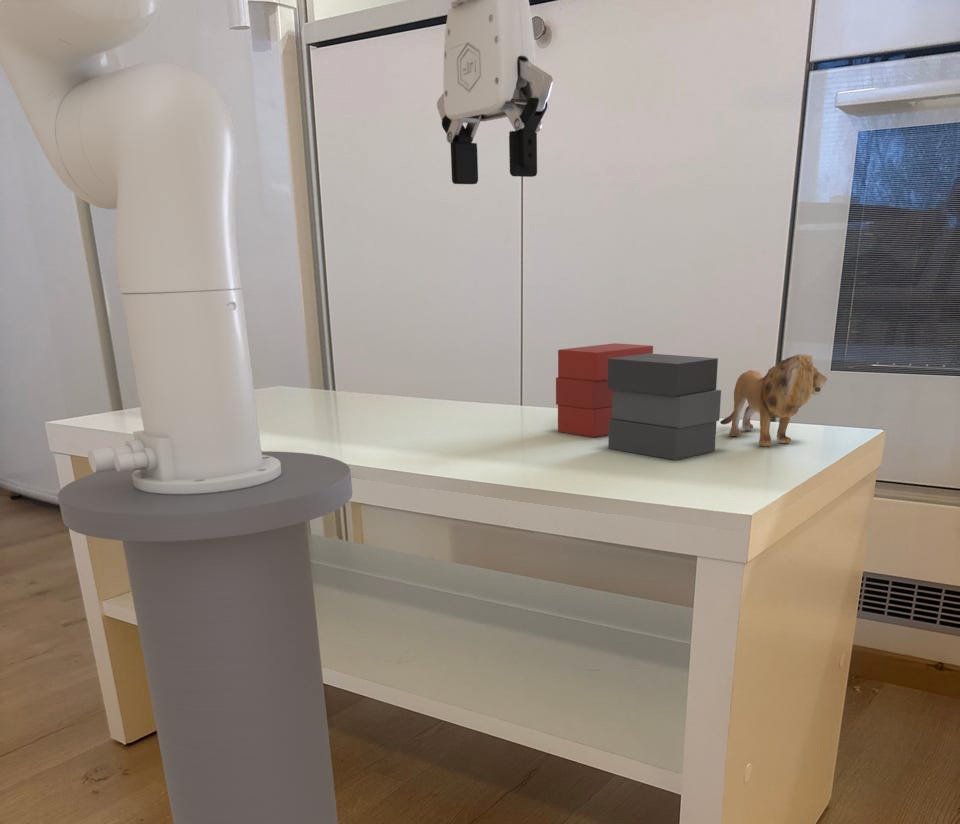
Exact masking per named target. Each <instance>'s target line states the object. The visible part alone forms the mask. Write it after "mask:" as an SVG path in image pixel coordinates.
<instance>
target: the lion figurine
mask: <svg viewBox="0 0 960 824" xmlns="http://www.w3.org/2000/svg"><path fill="white" fill-rule="evenodd" d="M827 380H828V377H826V376H825V375H823V374H822V373H821V372H820V371H819V370H818V368H817V367H815V366H814V362H813V356H812V355H808V354H805V353H804V354H802V353H797V354H795V355H793V356H789V357H788V358H785V359H782V360H781V361H779V363H777V364H776V365H774V366H772V367H769V369H768V371H767V373H766V374H765V376H764V374H763V373H762V372H761V371H758V370H753V369H748V370H747V371H745V372H743V373H742V374H740V375H739V376H738V377H737V380H736V383H735V385H734V389H733V411H732V413H731V414H730V415H728V416H727V417H725V418H723V419H722V420H721V421H720V422H719V424H721V425H728V424H731V427H730V430H729V436H731V437H735V436H736V437H737V436H740V435H741V430H740V428H739V424H740V420H741V419H740V418H741V417H740V416H741V412H742V411H743V409H744V405H745V403H746V401H747V404H748V405H747V407H746V408H745V410H744V413H743V418H742V423H741V427H742V429H743V430H745V431H747V430H748V431H751V430H754V424H752V423H751V419H752V417H753V416H754V414H755V413H757V414H759V427H760V429H759V441H758V445H759V446H760V447H770V446H772V437H771V434H770V429H771V421H772V418H776V419H779V420H778V421H779V422H778V426H777V432H776V441H777V442H778V443H780V444H789V443H791V442H792V438H791V437H790V436H787V435H786V433H787V429H788V427H789V424H790V420H791V417H793V416H795V415H797V414H798V411H799V409H800V408H801V407H802V406H804V405H806V404H807V403H809V401H810V400H811V398H812V395H813V396H817V397H818V396H819V395H820V394H821V389H822V388H824V387H825V385H826V382H827Z"/></svg>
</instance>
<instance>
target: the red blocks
mask: <svg viewBox="0 0 960 824" xmlns="http://www.w3.org/2000/svg"><path fill="white" fill-rule="evenodd" d="M555 405H557V432H560V433H567V434H571V435H572V434H573V435H578V436H584V437H591V438H599V437H605V436H609V419H612V390H611V389H608V380H601V381H588V380H579V379H569V378H559V377H558V376H557V377H555Z"/></svg>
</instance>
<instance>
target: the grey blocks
mask: <svg viewBox="0 0 960 824" xmlns="http://www.w3.org/2000/svg"><path fill="white" fill-rule="evenodd" d="M718 364H719V358H717V357H705V356H703V357H702V356H690V355H676V354H675V355H673V354H663V353H662V354H661V353H653V354H649V353H648V354H640V355H632V356H624V357H616V358H609V359H608V389H611V390H612V419H609V435H608V443H607V444H608V445H607V446H608V449H610V450H616V451H621V452H627V453H632V454H638V455H644V456H650V457H654V458H655V457H656V458H662V459H667V460H673V461H677V460H681V459H687V458H690V457H695V456H699V455H705V454H709V453H714V452H715V451H716V438H717V437H716V436H717V422H719V421H720V417H721V401H722V400H721V399H722V390H721V389H717V383H718V382H717V381H718V367H719V366H718Z"/></svg>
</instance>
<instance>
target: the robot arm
mask: <svg viewBox="0 0 960 824" xmlns="http://www.w3.org/2000/svg"><path fill="white" fill-rule="evenodd" d="M161 5H162V0H0V64H1V67H2V68H3V71H4V73H5V75H6V77H7V79H8V82H9V84H10V86H11V87H12V90H13V92H14V94H15V96H16V98H17V100H18V102H19V105H20V107H21V109H22V111H23V113H24V115H25V117H26V119H27V121H28V124H29V125H30V127H31V129H32V131H33V133H34V135H35V137H36V140H37V143H38V144H39V146H40V147H41V150H42V152H43V154H44V156H45V157H46V159H47V161H48V163H49V164H50V166H51V167H52V169H53V171H54V172H55V174H56V175H57V176H58V177H59V179H60V181H61V182H62V183H63V185H65V186H66V187H67V189H68V190H70V192H72V193H73V194H74V195H75V196H76V197H78V198H79V199H81V200H82V201H84V202H85V203H87V204H90V205H91V206H94V207H97V208H100V209H104V210H105V209H106V210H115V211H116V213H115V228H114V253H115V263H116V272H117V279H118V286H119V292H120V294H121V299H122V306H123V312H124V318H125V323H126V324H125V325H126V329H127V335H128V340H129V341H128V343H129V347H130V353H131V359H132V365H133V372H134V377H135V379H134V380H135V384H136V390H137V397H138V402H139V408H140V415H141V421H142V426H143V430H136V431H133V432H132V434H133V435H132V436H133V440H126V441H125V442H124V445H122V446H115V447H114V446H113V447H112V446H107V447H101V448H92V449H88V451H87V459H88V465H89V468H90V469H91V471H92V472H93V474H94V473H99V472H105V471H112V470H117V471H118V472H121V471H128V470H133V471H134V472H133V474H132V478H133V484H134V487H136V488H137V489H138V490H141V491H143V492H148V493H153V494H164V495H195V494H209V493H219V492H227V491H234V490H239V489H245V488H250V487H254V486H258V485H261V484H264V483H268V482H270V481H272V480H274V479H276V478H278V477H279V476H280V474H281V473H282V472H281V462H280V461H279V460H278V459H276V458H274V457H271V456H267V455H262V452H261V451H262V445H261V437H260V428H259V419H258V411H257V404H256V402H257V401H256V393H255V388H254V377H253V370H252V362H251V361H252V360H251V353H250V345H249V336H248V330H247V329H248V327H247V322H246V311H245V304H244V303H245V301H244V294H243V288H242V281H241V273H240V272H241V271H240V264H239V254H238V244H237V228H236V195H237V182H238V181H237V179H238V144H237V136H236V130H235V126H234V122H233V119H232V116H231V114H230V111H229V109H228V107H227V105H226V103H225V101H224V99H223V98H222V96H221V95H220V94H219V92H218V90H217V89H216V88H215V87H214V86H213V85H212V84H211V83H210V82H209V81H208V80H207V79H206V78H204V77H203V76H202V75H201V74H200V73H198V72H196V71H195V70H192V69H191V68H189V67H187V66H184V65H181V64H178V63H174V62H168V61H167V62H165V61H149V62H142V63H138V64H135V65H131V66H128V67H127V66H126V67H122V64H121V62H120V59H119V57H118V55H117V51H116V49H117V48H119V47H121V46H124V45H126V44H128V43H130V42H132V41H134V40H136V39H139V38H140V37H141V36H143V35H144V34H145V33H147V32H148V31H149V30H150V28H151V27H152V26H153V25H154V24H155V22H156V20H157V18H158V16H159V13H160V9H161ZM450 6H451V8H450V9H448V10H447V16H446V24H445V32H444V33H445V34H444V44H443V45H444V47H443V93H442V94H441V96H440V97H439V99H438V100H437V102H436V108H437V110H438V113H439V117H440V120H441V127H442V129H443V131H444V132H445V134H446V141H447V143H449V144H450V164H451V166H450V167H451V169H450V170H451V182H452V184H454V185H476V184H478V182H479V163H478V159H479V158H478V143H477V142H473V141H474V138H475V136H476V134H477V131H478V130H479V129H478V128H479V126H480V123H481V122H488V121H494V120H499V119H505V118H508V120H509V122H510V124H511V126H512V127H513V129H514V130H510V131H509V132H508V134H509V136H508V139H509V140H508V146H509V147H508V150H509V151H508V153H509V158H508V159H509V174H510V176H511V177H525V178H526V177H527V178H533V177H536V176H537V175H538V134H537V133H538V132H540V131H541V129H542V119H543V117H544V115H545V113H546V111H547V109H548V100H549V97H550V93H551V91H552V86H553V82H554V78H553V76H552V75H551V74H549V73H548V72H546V71H544V70H543V69H541V68H540V67H538V66H537V63H536V62H537V61H536V47H535V34H534V25H533V18H532V10H531V5H530V0H450ZM464 124H466V126H464ZM135 470H136V471H135Z"/></svg>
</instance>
